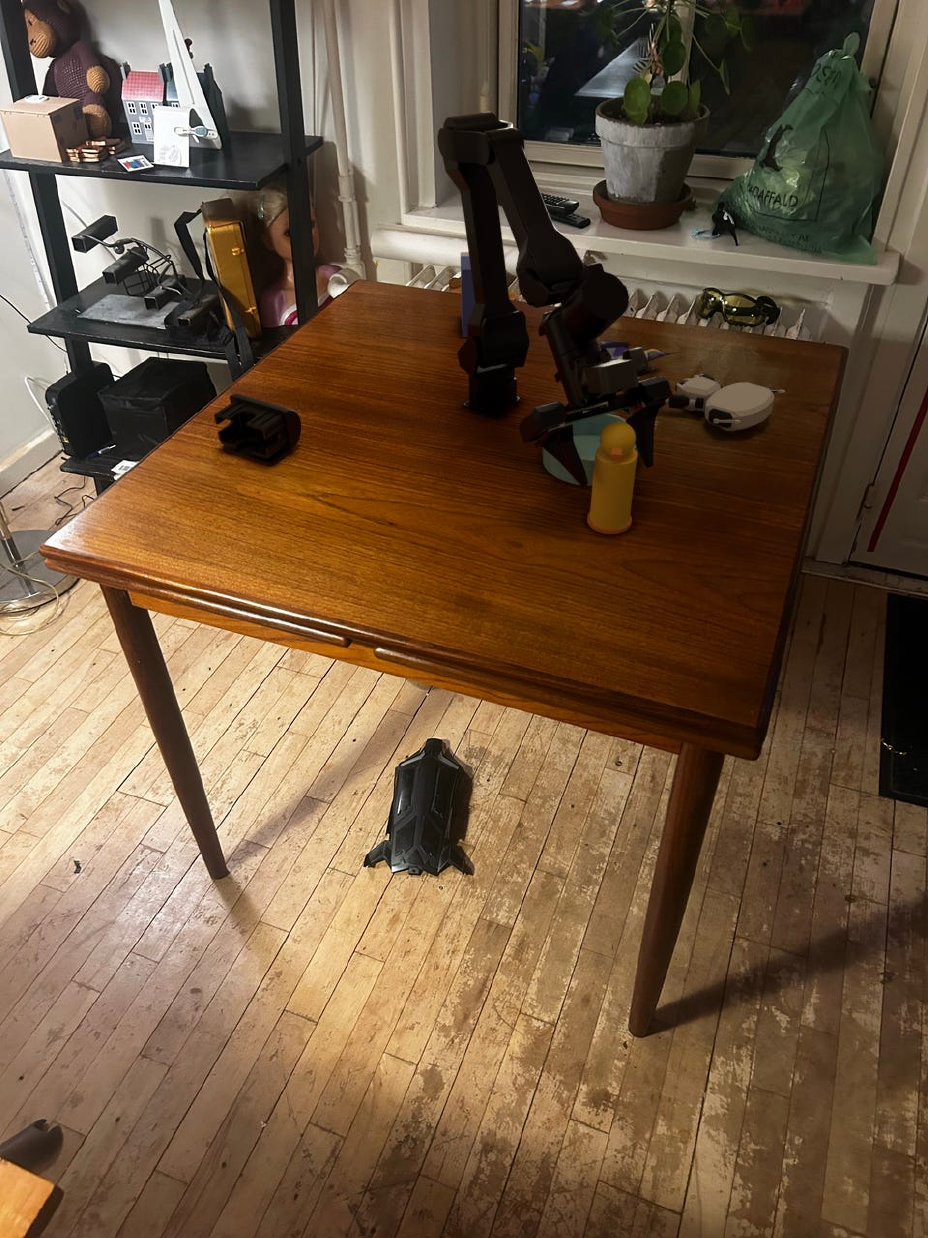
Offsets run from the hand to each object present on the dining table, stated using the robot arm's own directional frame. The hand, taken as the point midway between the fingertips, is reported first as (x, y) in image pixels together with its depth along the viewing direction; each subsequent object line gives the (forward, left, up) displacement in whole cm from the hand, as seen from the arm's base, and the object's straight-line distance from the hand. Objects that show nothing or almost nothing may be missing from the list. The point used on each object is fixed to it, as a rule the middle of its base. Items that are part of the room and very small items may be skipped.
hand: (618, 476), depth 112 cm
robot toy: (0, +33, -7) cm, 34 cm away
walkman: (-48, +39, -7) cm, 62 cm away
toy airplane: (-17, +38, -7) cm, 42 cm away
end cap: (-51, -10, -7) cm, 52 cm away
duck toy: (-1, 0, -7) cm, 7 cm away
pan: (-10, +12, -7) cm, 17 cm away
